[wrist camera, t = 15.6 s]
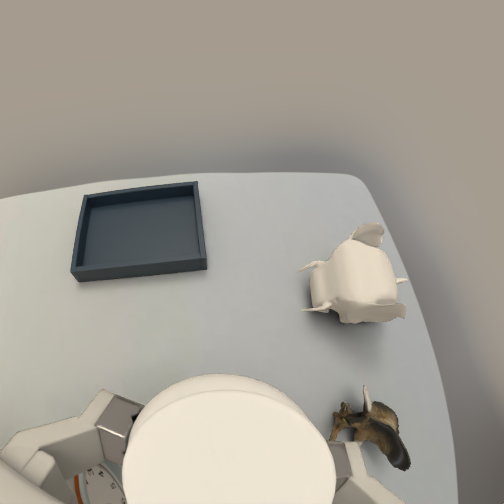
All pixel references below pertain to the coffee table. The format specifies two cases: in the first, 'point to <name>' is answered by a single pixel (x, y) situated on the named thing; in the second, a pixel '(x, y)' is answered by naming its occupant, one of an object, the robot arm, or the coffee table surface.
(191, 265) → the tray
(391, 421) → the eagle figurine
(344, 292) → the elephant figurine
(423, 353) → the coffee table surface
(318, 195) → the coffee table surface
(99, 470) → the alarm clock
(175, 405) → the pill bottle
